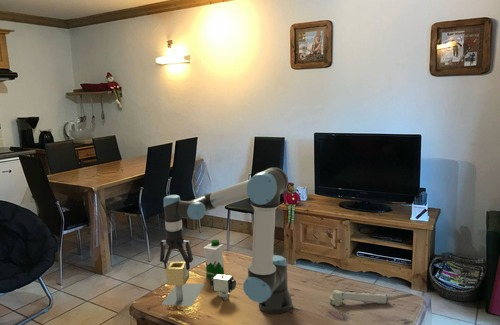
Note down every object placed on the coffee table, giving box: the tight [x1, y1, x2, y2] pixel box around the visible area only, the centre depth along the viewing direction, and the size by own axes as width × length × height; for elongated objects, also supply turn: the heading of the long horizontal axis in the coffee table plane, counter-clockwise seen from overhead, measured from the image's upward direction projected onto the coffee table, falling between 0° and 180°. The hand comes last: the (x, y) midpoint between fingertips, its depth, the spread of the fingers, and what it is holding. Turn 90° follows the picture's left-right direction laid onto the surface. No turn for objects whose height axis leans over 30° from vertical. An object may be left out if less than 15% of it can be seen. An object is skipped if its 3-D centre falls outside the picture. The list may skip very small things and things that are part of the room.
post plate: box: [160, 282, 206, 307], centre depth 194 cm, size 15×22×12 cm
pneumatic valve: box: [209, 273, 237, 301], centre depth 191 cm, size 6×12×12 cm, turn 68°
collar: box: [165, 261, 190, 286], centre depth 187 cm, size 8×8×8 cm
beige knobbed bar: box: [329, 289, 389, 307], centre depth 180 cm, size 5×7×25 cm
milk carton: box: [203, 239, 225, 279], centre depth 212 cm, size 9×9×20 cm
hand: (177, 275), depth 187 cm, fingers closed on collar, 8 cm apart
